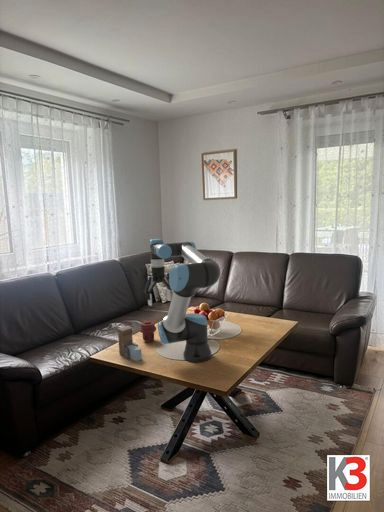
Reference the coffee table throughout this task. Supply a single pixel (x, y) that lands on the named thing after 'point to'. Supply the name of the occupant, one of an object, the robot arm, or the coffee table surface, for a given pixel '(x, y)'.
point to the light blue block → (134, 352)
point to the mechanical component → (148, 330)
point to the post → (125, 340)
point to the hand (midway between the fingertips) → (159, 302)
